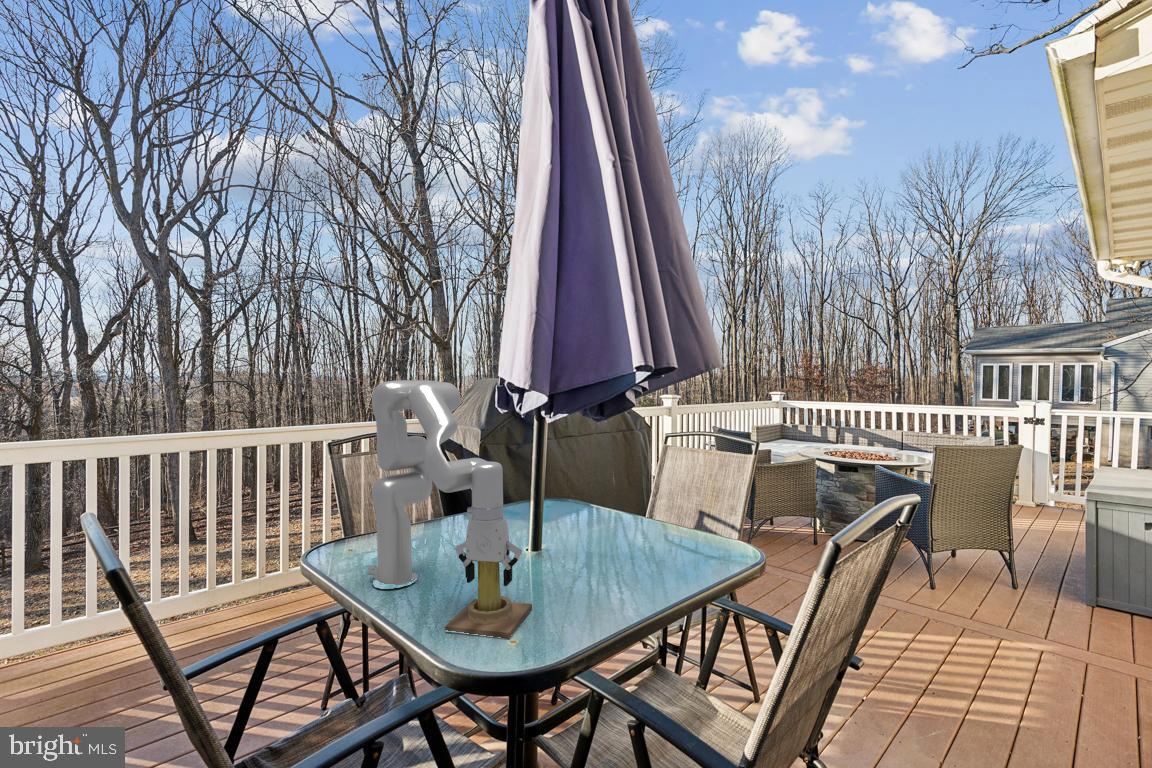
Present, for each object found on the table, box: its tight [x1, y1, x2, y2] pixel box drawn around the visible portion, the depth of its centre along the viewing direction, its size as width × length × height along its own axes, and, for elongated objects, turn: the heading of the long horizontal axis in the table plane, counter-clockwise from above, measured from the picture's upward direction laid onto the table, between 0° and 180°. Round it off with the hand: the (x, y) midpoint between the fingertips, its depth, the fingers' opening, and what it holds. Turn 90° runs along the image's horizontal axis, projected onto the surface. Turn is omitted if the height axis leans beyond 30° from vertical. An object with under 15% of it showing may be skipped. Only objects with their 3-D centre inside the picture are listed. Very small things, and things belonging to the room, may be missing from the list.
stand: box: [444, 595, 533, 640], centre depth 131 cm, size 16×16×4 cm
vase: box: [477, 561, 502, 612], centre depth 131 cm, size 6×6×14 cm
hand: (488, 582), depth 131 cm, fingers open, 9 cm apart
